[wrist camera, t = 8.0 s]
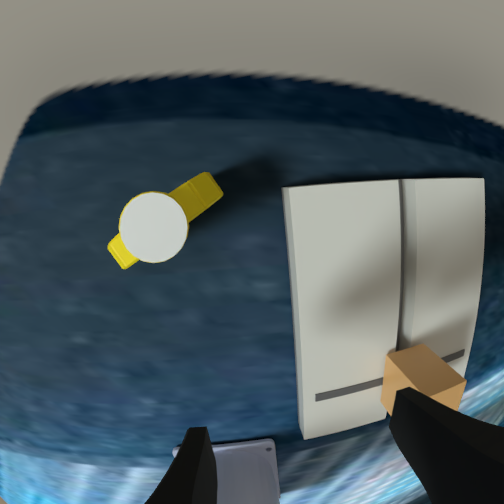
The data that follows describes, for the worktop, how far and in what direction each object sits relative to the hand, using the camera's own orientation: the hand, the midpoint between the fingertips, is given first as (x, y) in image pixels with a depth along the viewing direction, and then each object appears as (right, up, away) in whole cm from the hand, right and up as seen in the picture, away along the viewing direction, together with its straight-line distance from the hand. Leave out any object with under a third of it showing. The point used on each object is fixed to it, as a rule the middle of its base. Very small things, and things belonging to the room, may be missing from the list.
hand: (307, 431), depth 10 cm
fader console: (+7, +3, +10) cm, 13 cm away
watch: (-6, +9, +7) cm, 13 cm away
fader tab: (+8, -1, +11) cm, 13 cm away
